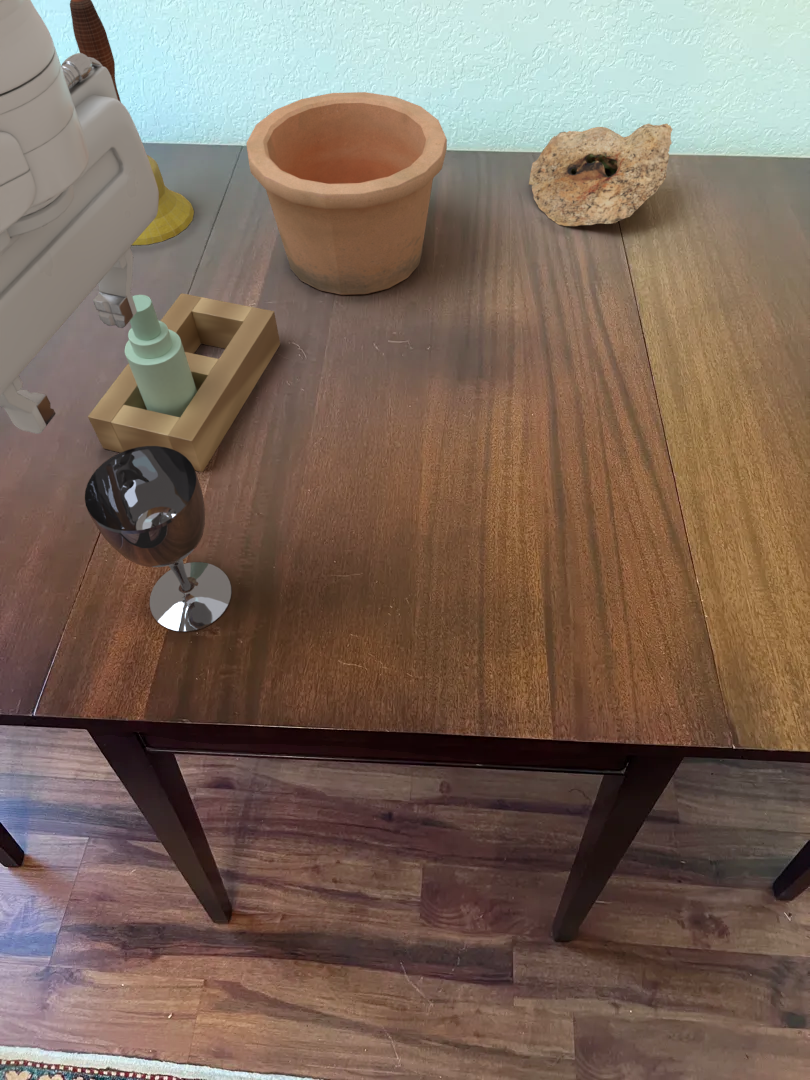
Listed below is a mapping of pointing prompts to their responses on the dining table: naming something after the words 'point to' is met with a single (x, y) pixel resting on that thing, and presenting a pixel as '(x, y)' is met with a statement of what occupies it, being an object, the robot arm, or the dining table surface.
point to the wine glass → (160, 531)
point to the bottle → (158, 362)
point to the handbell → (95, 44)
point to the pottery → (349, 186)
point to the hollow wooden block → (216, 381)
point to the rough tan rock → (599, 173)
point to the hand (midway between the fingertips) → (81, 368)
